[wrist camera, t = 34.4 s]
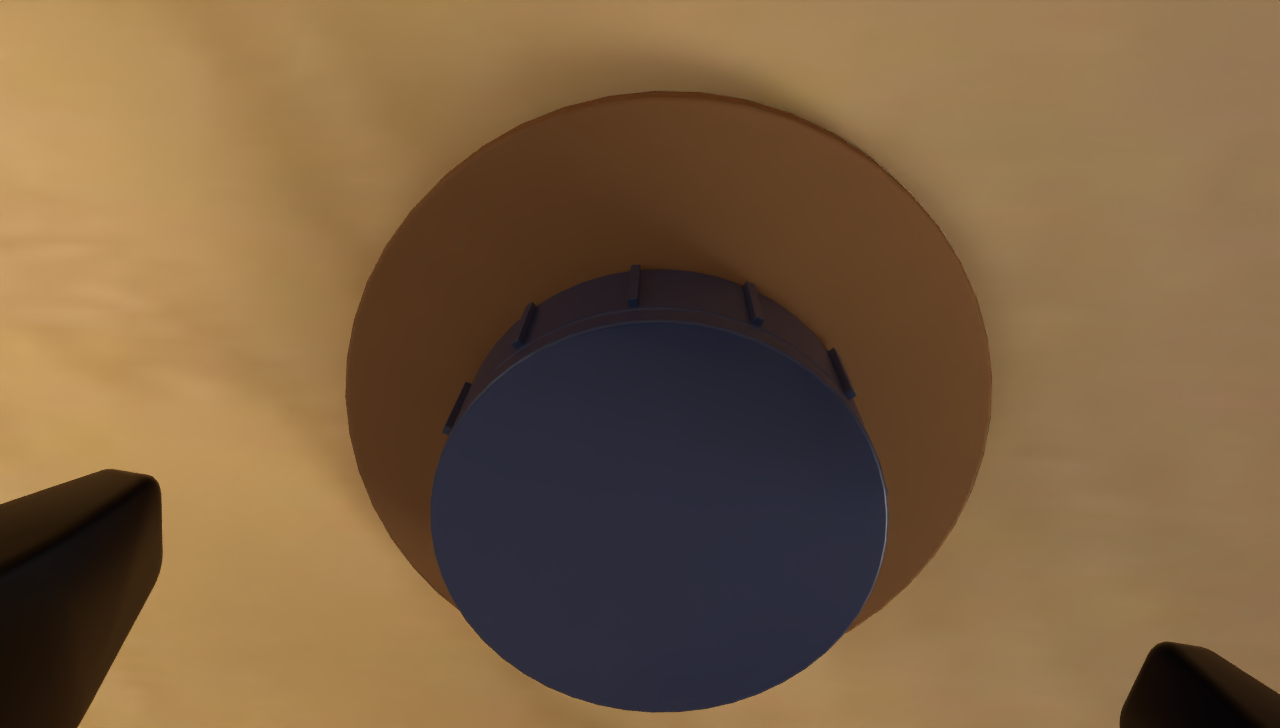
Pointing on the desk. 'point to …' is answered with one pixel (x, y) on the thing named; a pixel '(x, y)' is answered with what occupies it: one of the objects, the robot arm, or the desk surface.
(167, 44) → the desk surface
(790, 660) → the jar lid
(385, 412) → the coaster
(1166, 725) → the robot arm
